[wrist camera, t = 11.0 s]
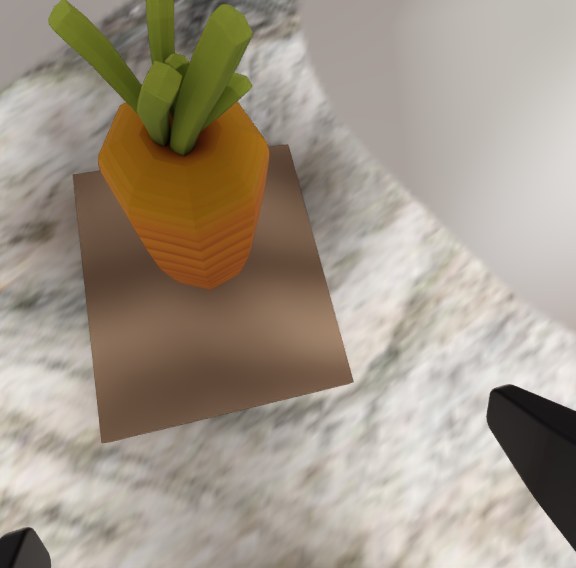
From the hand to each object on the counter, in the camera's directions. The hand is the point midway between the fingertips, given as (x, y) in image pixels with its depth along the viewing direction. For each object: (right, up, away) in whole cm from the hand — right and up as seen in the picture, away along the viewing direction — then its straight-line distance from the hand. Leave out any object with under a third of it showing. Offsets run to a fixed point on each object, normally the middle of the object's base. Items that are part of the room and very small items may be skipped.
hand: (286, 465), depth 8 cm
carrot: (-4, +4, +14) cm, 15 cm away
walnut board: (-4, +4, +15) cm, 16 cm away
